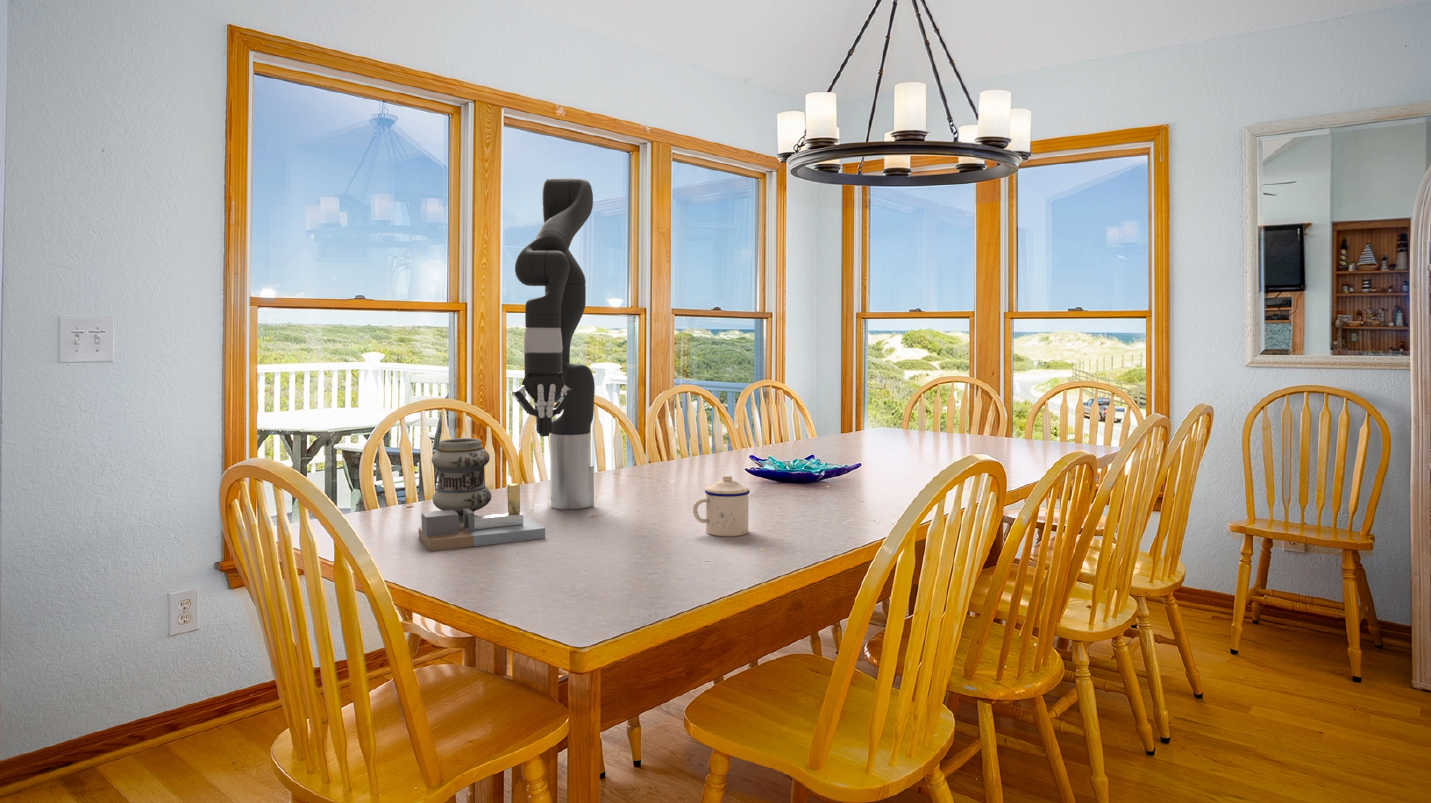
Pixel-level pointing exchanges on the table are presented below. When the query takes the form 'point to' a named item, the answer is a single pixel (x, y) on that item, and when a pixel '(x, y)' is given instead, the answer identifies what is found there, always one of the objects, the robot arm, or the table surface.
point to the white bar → (504, 519)
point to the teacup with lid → (725, 508)
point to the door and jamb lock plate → (471, 531)
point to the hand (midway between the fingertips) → (544, 435)
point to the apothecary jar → (461, 475)
